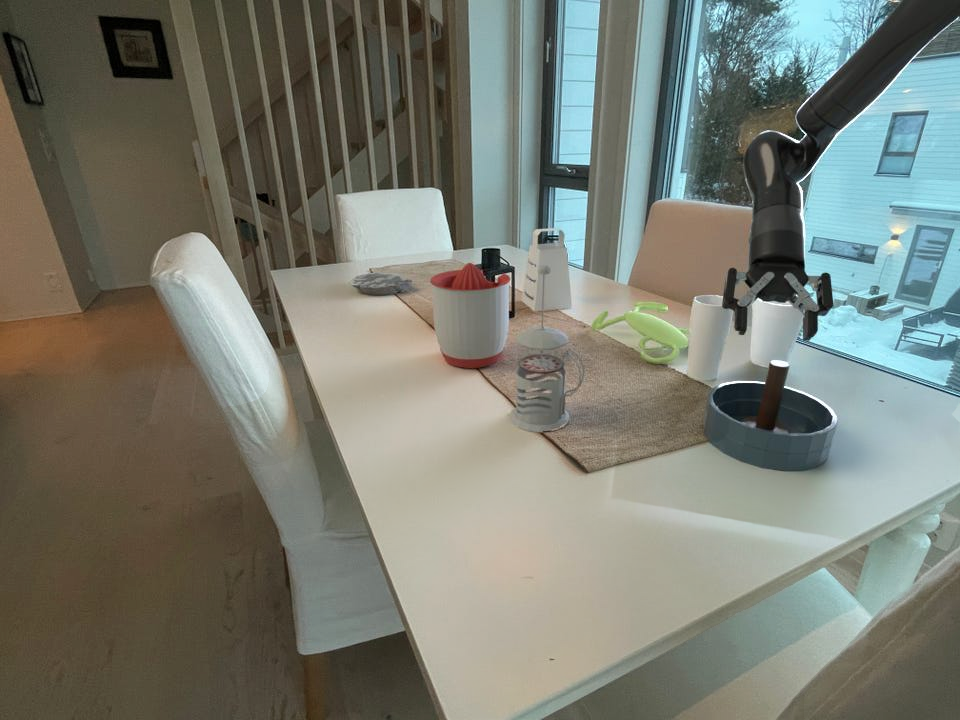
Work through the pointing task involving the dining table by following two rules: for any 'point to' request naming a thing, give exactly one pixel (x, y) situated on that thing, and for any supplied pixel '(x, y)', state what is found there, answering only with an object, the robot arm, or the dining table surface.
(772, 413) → the stirring muddler
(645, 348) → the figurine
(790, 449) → the bowl
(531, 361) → the french press
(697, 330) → the drinking glass
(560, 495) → the dining table surface
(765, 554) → the dining table surface
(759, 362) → the foam cup
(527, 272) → the grater
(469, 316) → the citrus juicer
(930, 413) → the dining table surface
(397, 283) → the brain slice
